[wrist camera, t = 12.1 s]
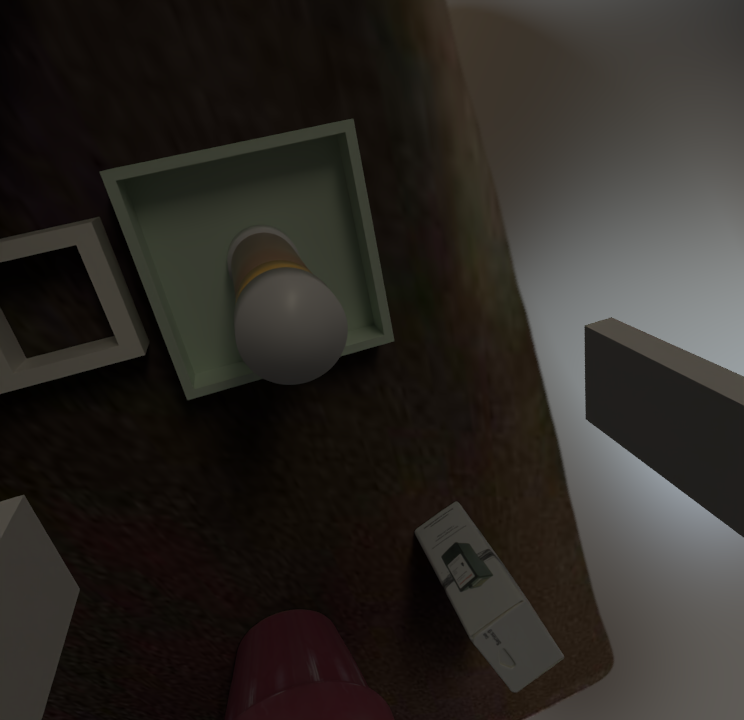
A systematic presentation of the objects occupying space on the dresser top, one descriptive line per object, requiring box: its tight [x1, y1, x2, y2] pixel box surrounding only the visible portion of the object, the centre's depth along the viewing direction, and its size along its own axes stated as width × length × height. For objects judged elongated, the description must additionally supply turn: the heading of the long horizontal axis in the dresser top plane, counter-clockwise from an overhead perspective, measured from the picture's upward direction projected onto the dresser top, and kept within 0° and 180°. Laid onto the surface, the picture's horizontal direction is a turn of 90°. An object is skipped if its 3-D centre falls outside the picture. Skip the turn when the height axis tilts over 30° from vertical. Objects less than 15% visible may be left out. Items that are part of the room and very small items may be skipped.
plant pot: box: [224, 609, 394, 720], centre depth 42 cm, size 14×14×13 cm
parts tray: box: [100, 119, 394, 400], centre depth 33 cm, size 14×14×3 cm
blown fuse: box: [227, 225, 348, 385], centre depth 27 cm, size 4×4×15 cm
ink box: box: [415, 501, 564, 692], centre depth 43 cm, size 9×5×12 cm, turn 32°
